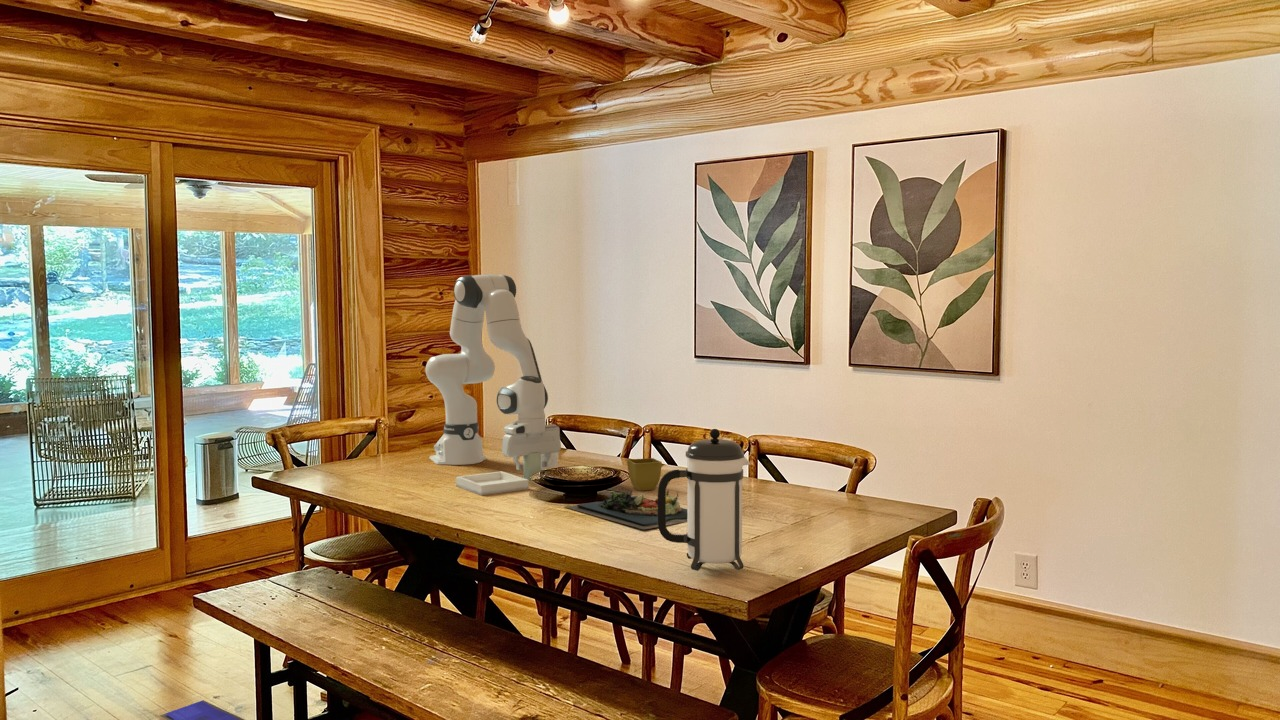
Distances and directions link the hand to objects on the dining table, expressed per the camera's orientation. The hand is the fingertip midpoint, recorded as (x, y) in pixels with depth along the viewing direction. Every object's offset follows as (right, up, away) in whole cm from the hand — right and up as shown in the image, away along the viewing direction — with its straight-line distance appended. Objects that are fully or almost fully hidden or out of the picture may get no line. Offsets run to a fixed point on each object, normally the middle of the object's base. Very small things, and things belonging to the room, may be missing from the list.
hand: (532, 468), depth 307 cm
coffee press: (+50, -10, -100) cm, 112 cm away
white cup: (+3, -3, +16) cm, 17 cm away
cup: (0, -4, 0) cm, 4 cm away
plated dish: (+35, -8, -45) cm, 57 cm away
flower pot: (+36, -5, -17) cm, 40 cm away
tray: (-11, -5, -14) cm, 18 cm away
